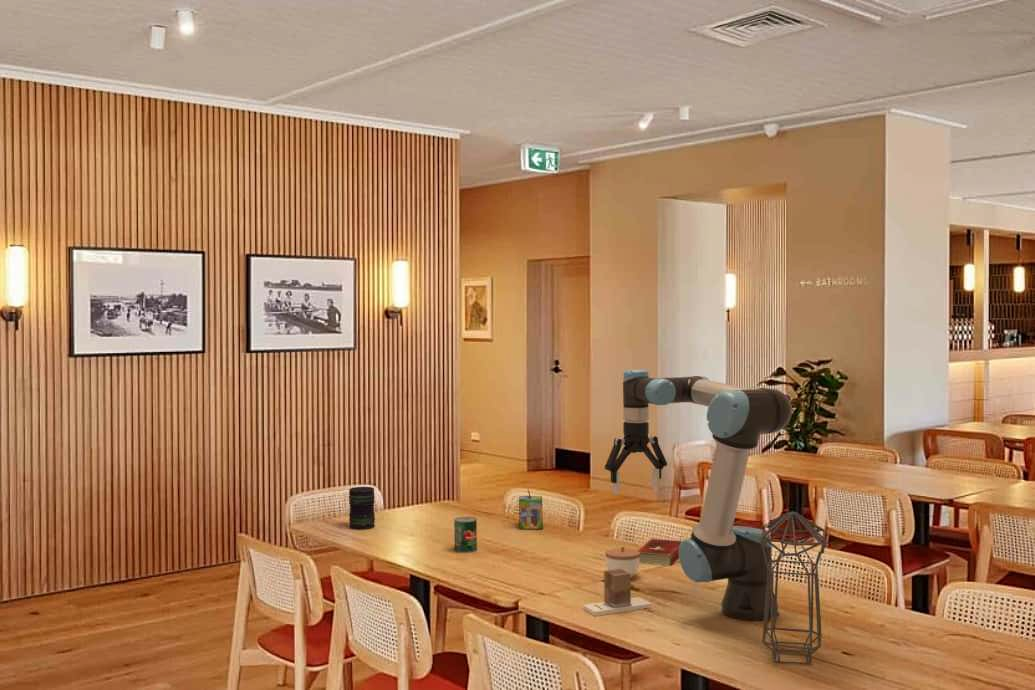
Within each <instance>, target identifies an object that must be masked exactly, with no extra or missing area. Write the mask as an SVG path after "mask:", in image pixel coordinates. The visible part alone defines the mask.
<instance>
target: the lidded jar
mask: <svg viewBox="0 0 1035 690" xmlns="http://www.w3.org/2000/svg"><path fill="white" fill-rule="evenodd" d="M637 550H638V549H634V548H625V546H620V547H619V548H611V549H608V550H606V551H605V563H606V568H607V570H614V569H621V570H624V571H626V572H628V573H630V575H631V577H632V576H635V575H636V574H637V572H638V570H639V567H640V563H639V561H640V552H639V551H637ZM632 578H633V577H632Z"/></svg>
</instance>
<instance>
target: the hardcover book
mask: <svg viewBox="0 0 1035 690" xmlns="http://www.w3.org/2000/svg"><path fill="white" fill-rule="evenodd" d="M682 541H683V540H673V539H672V540H671V539H661V538H650V539H649V540H648V541H647V542H645V543H644V544H642V546H640V547H639V548H638V549H636V550H637V551H639V552H640V561H639V562H644V563H643V564H648V563H653V564H652V565H659V564H663V565H662V566H670V567H671V566H672V565H673V564H674V563H675V561H677V560H679V546H680V543H681V542H682Z"/></svg>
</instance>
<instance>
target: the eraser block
mask: <svg viewBox="0 0 1035 690" xmlns="http://www.w3.org/2000/svg"><path fill="white" fill-rule="evenodd" d="M603 575H604V576H603V584H604V585H603V586H604V588H603V596H604V598H603V600H604V601H603V602H604V603H606V604H608V605H610V606H612V607H614V608H620V607H627V606H631V598H632V597H631V595H632V594H631V592H632V591H631V586H632V585H631V584H632V583H631V581H632V580H631V579H632V578H631V575H630V573H628V572H626V571H624V570H621V569H614V570H608V569H607V570H604V571H603Z"/></svg>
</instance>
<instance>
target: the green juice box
mask: <svg viewBox="0 0 1035 690" xmlns="http://www.w3.org/2000/svg"><path fill="white" fill-rule="evenodd" d="M529 490H530V489H529V488H527V494H528V495H522V496H521V495H519V496H518V498H519V499H518V517H519V518H518V519H519V520H518V523H519V525H518V527H519V531H520V530H521V531H522V530H543V529H544V521H543V520H544V519H543V517H544V516H543V497H542V495H531V494H530V491H529Z"/></svg>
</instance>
